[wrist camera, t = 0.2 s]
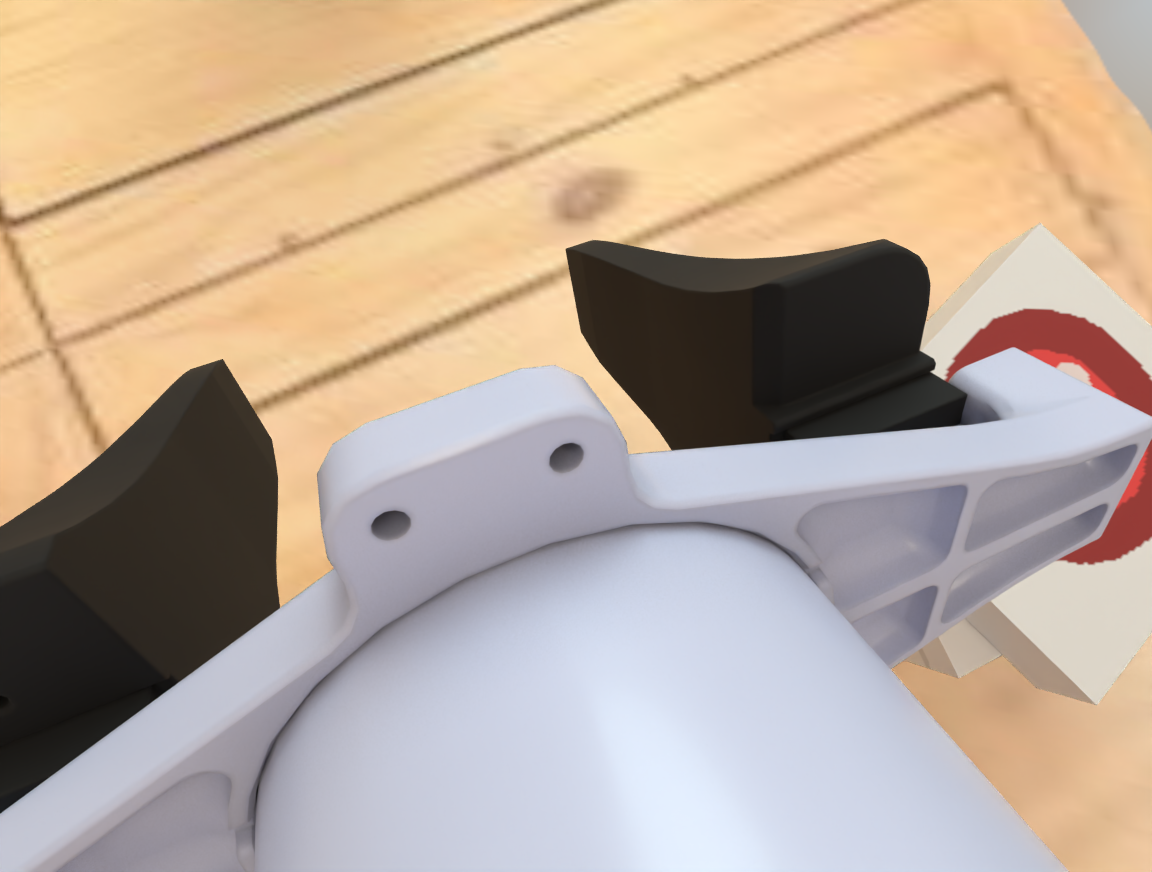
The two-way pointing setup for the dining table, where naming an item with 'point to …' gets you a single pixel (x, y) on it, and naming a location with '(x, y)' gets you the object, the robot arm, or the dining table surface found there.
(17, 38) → the dining table surface
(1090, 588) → the pizza boxes
